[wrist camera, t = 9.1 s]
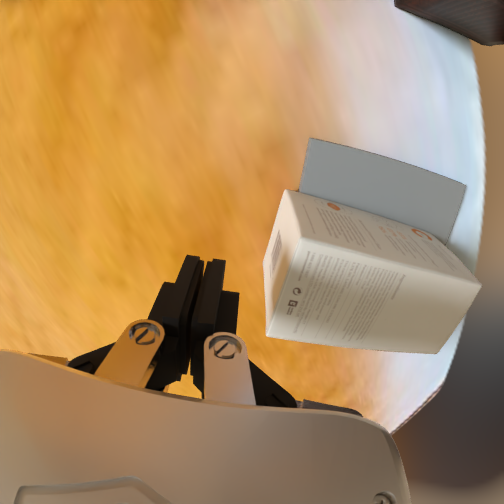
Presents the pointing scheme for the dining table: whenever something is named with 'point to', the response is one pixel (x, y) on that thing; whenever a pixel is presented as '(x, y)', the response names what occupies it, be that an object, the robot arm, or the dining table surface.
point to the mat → (382, 187)
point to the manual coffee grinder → (463, 17)
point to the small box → (360, 280)
